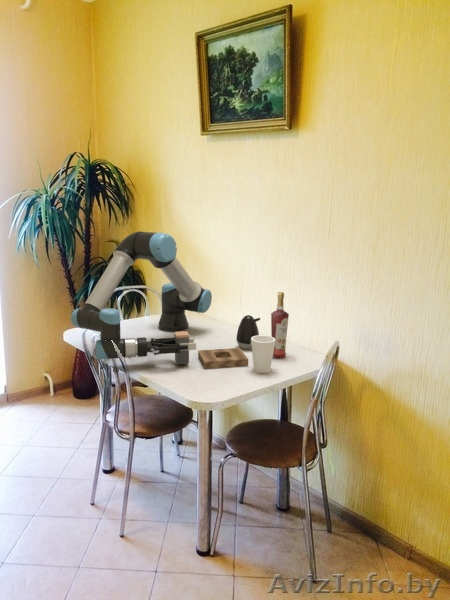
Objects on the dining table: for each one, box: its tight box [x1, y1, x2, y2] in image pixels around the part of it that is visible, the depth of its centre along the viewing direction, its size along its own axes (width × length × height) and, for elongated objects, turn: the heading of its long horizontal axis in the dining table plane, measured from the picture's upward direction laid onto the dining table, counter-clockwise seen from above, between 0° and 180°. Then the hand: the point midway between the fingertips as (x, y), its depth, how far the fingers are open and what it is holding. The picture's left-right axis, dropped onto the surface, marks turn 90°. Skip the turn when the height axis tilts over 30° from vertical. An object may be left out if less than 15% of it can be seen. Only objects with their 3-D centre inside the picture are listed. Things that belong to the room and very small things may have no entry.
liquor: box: [270, 291, 290, 359], centre depth 203 cm, size 7×7×28 cm
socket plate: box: [197, 347, 249, 370], centre depth 199 cm, size 18×14×3 cm
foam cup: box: [251, 334, 275, 374], centre depth 189 cm, size 10×9×13 cm
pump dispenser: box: [236, 314, 261, 351], centre depth 215 cm, size 10×10×15 cm
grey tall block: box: [174, 330, 190, 365], centre depth 194 cm, size 5×5×12 cm
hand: (194, 343), depth 195 cm, fingers closed on grey tall block, 5 cm apart
